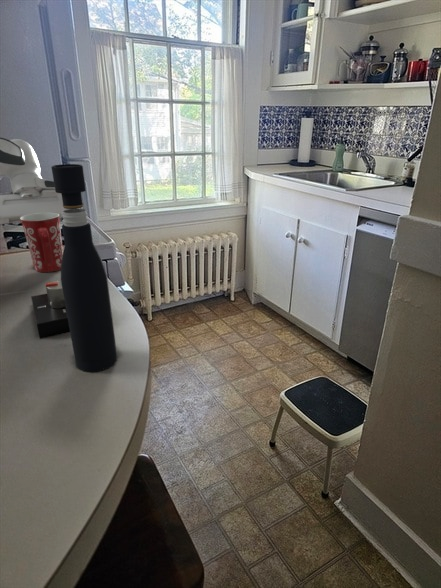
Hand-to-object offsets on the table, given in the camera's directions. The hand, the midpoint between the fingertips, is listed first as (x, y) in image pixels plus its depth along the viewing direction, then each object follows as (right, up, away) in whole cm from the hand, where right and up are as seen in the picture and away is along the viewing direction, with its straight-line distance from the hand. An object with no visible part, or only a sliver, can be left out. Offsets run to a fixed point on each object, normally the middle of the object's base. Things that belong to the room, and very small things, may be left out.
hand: (38, 232), depth 110 cm
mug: (+8, -11, -10) cm, 17 cm away
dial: (+21, -19, -35) cm, 45 cm away
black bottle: (+31, -28, -47) cm, 63 cm away
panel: (+21, -22, -33) cm, 45 cm away
